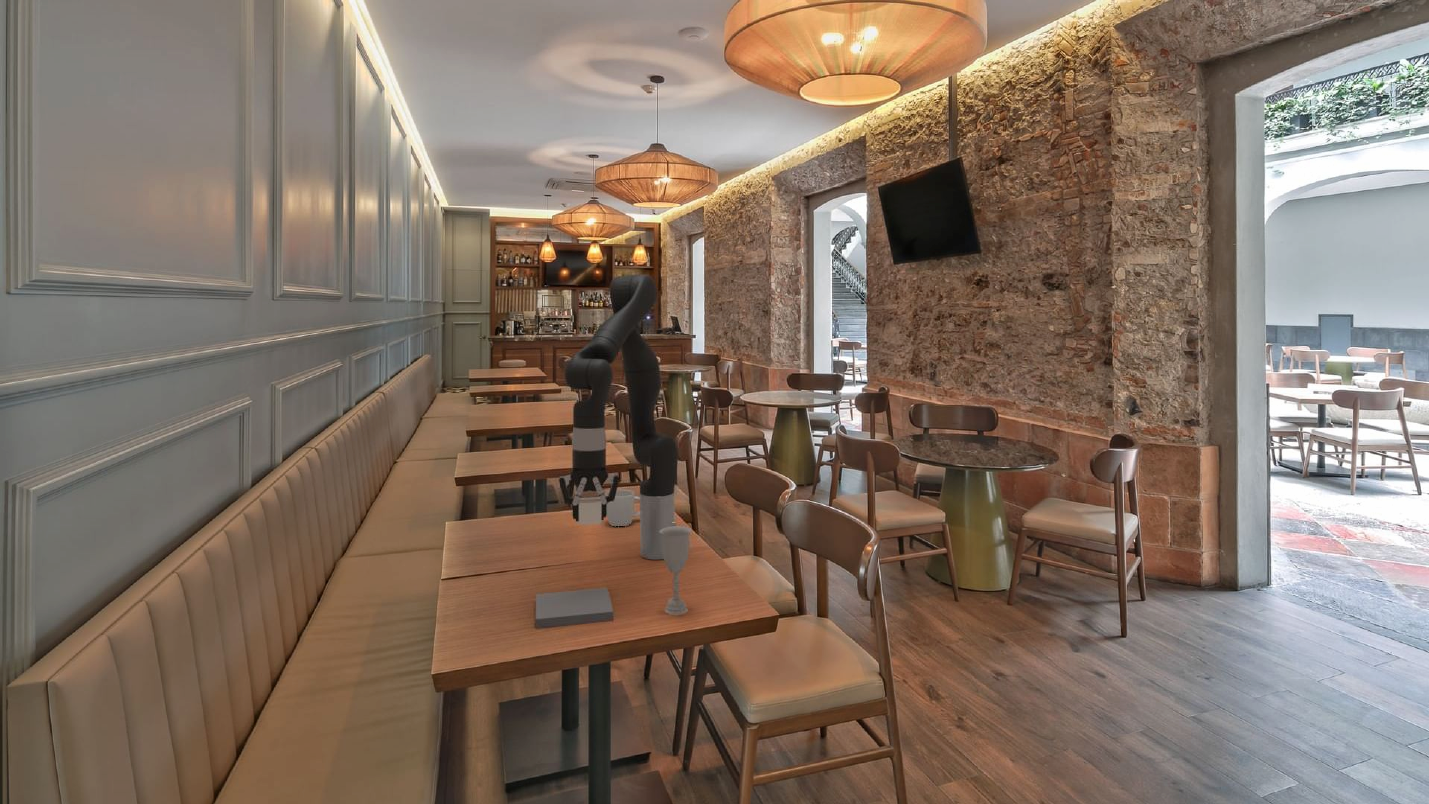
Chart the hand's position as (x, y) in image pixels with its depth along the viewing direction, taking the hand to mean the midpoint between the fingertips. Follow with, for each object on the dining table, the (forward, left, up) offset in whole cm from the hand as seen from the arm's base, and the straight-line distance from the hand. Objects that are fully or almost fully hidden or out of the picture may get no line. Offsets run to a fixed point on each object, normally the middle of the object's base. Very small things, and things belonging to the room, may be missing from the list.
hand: (589, 519), depth 164 cm
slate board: (+4, +8, -18) cm, 20 cm away
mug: (-15, -57, -18) cm, 62 cm away
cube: (0, 0, 0) cm, 0 cm away
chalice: (-18, +13, -18) cm, 29 cm away
